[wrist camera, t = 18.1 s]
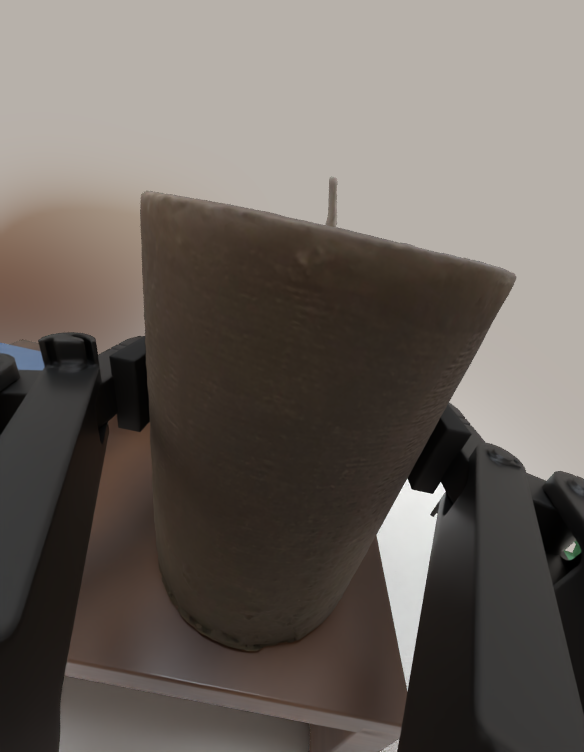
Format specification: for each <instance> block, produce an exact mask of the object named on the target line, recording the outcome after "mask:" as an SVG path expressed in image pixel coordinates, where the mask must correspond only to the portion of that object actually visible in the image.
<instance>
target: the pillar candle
mask: <svg viewBox="0 0 584 752" xmlns="http://www.w3.org/2000/svg"><path fill="white" fill-rule="evenodd" d="M336 191H337V179H336V178H334V177H330V179H329V208H328V217H327V221H326V225H321V224H316V223H312V222H308V221H304V220H298V219H293V218H288V217H284V216H281V215H278V214H274V213H270V212H265V211H259V210H254V209H249V208H244V207H238V206H234V205H229V204H223V203H217V202H212V201H206V200H200V199H194V198H188V197H182V196H177V195H171V194H163V193H158V192H153V191H146V192H144V193H142V194H141V210H140V214H141V215H140V216H141V239H142V275H143V294H144V319H145V345H146V368H147V386H148V395H149V417H150V447H151V461H152V489H153V504H154V523H155V531H156V547H157V552H158V564H159V570H160V573H161V575H162V582H163V584H164V586H165V589H166V591H167V593H168V596H169V598H170V600H171V601H172V603H173V604H174V605H175V606H178V611H179V612H180V614H181V616H182V617H183V618H184V619H185V620H186V621H187V622H188V623H189V624H191V625H192V626H193V627H194V628H195V629H196V630H198V631H199V632H200V633H201V634H204V635H206V636H208V637H210V638H211V639H212V640H216V641H218V642H220V643H222V644H223V645H226V646H229V647H232V648H237V649H244V650H246V651H257V650H260V649H261V648H263V647H266V646H273V645H277V644H278V643H282V642H288V643H291V642H294V641H297V640H300V639H301V638H303V637H304V636H306V635H307V634H308V633H310V632H311V631H313V630H314V629H315V628H317V627H318V626H319V625H320V624H321V623H322V622H324V621H325V620H326V618H327V617H328V616H329V615H330V614H331V612H332V611H333V610H334V608H335V607H336V605H337V604H338V602H339V600H340V599H341V598H342V596H343V594H344V592H345V590H346V588H347V586H348V585H349V583H350V581H351V579H352V577H353V575H354V574H355V572H356V570H357V569H358V567H359V565H360V563H361V562H362V560H363V558H364V557H365V555H366V553H367V551H368V549H369V547H370V545H371V543H372V542H373V540H374V538H375V536H376V534H377V533H378V531H379V529H380V527H381V525H382V524H383V522H384V520H385V518H386V516H387V514H388V513H389V511H390V509H391V507H392V505H393V503H394V501H395V500H396V498H397V496H398V494H399V492H400V491H401V489H402V487H403V485H404V483H405V481H406V480H407V478H408V476H409V474H410V473H411V471H412V469H413V467H414V465H415V463H416V461H417V460H418V458H419V456H420V454H421V453H422V451H423V449H424V447H425V445H426V443H427V441H428V439H429V437H430V436H431V434H432V432H433V430H434V429H435V427H436V425H437V423H438V421H439V419H440V417H441V416H442V414H443V412H444V410H445V408H446V407H447V405H448V403H449V401H450V399H451V397H452V396H453V394H454V392H455V390H456V388H457V387H458V385H459V383H460V381H461V380H462V378H463V376H464V374H465V372H466V371H467V369H468V367H469V365H470V364H471V362H472V360H473V358H474V356H475V355H476V353H477V351H478V349H479V347H480V345H481V343H482V342H483V340H484V338H485V335H486V334H487V332H488V330H489V328H490V326H491V324H492V322H493V320H494V319H495V317H496V315H497V313H498V312H499V310H500V308H501V306H502V304H503V303H504V301H505V300H506V298H507V296H508V295H509V292H510V291H511V289H512V287H513V285H514V282H515V280H516V276H515V274H514V273H511V272H509V271H507V270H505V269H503V268H499V267H496V266H492V265H489V264H486V263H483V262H480V261H475V260H470V259H466V258H460V257H456V256H453V255H449V254H444V253H438V252H434V251H429V250H425V249H422V248H418V247H415V246H413V245H410V244H406V243H398V242H394V241H390V240H386V239H382V238H378V237H374V236H370V235H366V234H361V233H357V232H353V231H350V230H345V229H341V228H337V227H336V225H337V201H336V200H337V194H336Z"/></svg>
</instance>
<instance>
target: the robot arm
mask: <svg viewBox="0 0 584 752" xmlns="http://www.w3.org/2000/svg"><path fill="white" fill-rule="evenodd" d="M38 343H39V347H40V351H41V355H42V359H43V363H44V368H43V370H18V368H17V365H16V361H15V358H14V357H13V356H11V355H9V354H4V353H0V752H59V741H60V700H61V692H62V685H63V680H64V675H65V669H66V664H67V658H68V653H69V647H70V642H71V636H72V631H73V626H74V620H75V615H76V609H77V604H78V598H79V593H80V588H81V582H82V577H83V571H84V566H85V560H86V555H87V550H88V544H89V539H90V533H91V528H92V522H93V517H94V511H95V506H96V501H97V495H98V490H99V484H100V479H101V473H102V468H103V463H104V457H105V452H106V446H107V441H108V435H109V426H108V421H109V420H110V419H112V418H113V417H114V416H115V415H116V414H117V421H118V428H122V429H127V430H132V431H137V432H141V431H142V430H143V429H144V427H145V426H146V425H147V424H148V423H149V422H150V417H149V395H148V386H147V368H146V345H145V336H138V337H134V338H130V339H127V340H125V341H123V342H121V343H120V344H119V345H116V346H114V347H112V348H111V349H108V350H106V351H105V352H103V353H101V354H99V355H98V352H97V345H96V339H95V338H94V337H93V336H91V335H87V334H83V333H74V332H71V333H58V334H51V335H48V336H45V337H42V338H41V339H39V340H38ZM408 481H409V483H410V486H411V489H412V490H417V491H422V492H427V493H431V494H433V493H434V491H435V490H436V488H437V487H438V485H439V484H440V482H441V483H442V485H443V487H444V489H445V491H446V492H445V493H444V495H443V496H442V498H441V499H440V501H439V502H438V504H437V505H436V507H435V508H434V510H433V511H432V513H431V514H430V515H431V516H433V517H434V515H435V514H436V513H438V515H437V521H436V527H435V533H434V539H433V545H432V551H431V556H430V562H429V568H428V574H427V580H426V586H425V592H424V598H423V604H422V610H421V615H420V621H419V627H418V633H417V639H416V645H415V651H414V657H413V663H412V669H411V674H410V680H409V686H408V692H407V698H406V704H405V710H404V716H403V722H402V728H401V733H400V739H399V745H398V751H397V752H584V479H583V478H581V477H578V476H577V477H576V476H574V475H572V474H569V473H566V472H562V471H558V472H554V474H553V475H552V476H551V477H550V478H549V479H548V480H547V481H545V480H543V479H540V478H538V477H535V476H533V475H530V474H528V473H526V470H525V468H524V466H523V464H522V463H521V462H520V461H519V460H518V459H517V458H516V457H515V456H513V455H512V454H511V453H509V452H508V451H506V450H504V449H502V448H500V447H498V446H496V445H493V444H489V443H485V441H484V440H483V439H482V438H481V436H480V435H479V434H478V433H477V432H476V430H474V428H473V427H472V426H470V423H469V422H468V421H467V419H465V417H464V416H463V415H462V413H461V412H460V411H459V410H458V409H457V408H456V407H454V406H453V405H452V404H450V403H448V405H447V407H446V408H445V410H444V412H443V414H442V416H441V417H440V419H439V421H438V423H437V425H436V427H435V429H434V430H433V432H432V434H431V436H430V437H429V439H428V441H427V443H426V445H425V447H424V449H423V451H422V453H421V454H420V456H419V458H418V460H417V461H416V463H415V465H414V467H413V469H412V471H411V473H410V474H409V476H408ZM575 541H577V543H578V544H579V546H580V549H581V553H580V554H578V555H577V556H576V557H575V558H574V559H572V560H569V559H568V558H567V556H566V554H565V552H564V550H565V549H566V548H568V547H569V546H570V545H571V544H572V543H573V542H575Z"/></svg>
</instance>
